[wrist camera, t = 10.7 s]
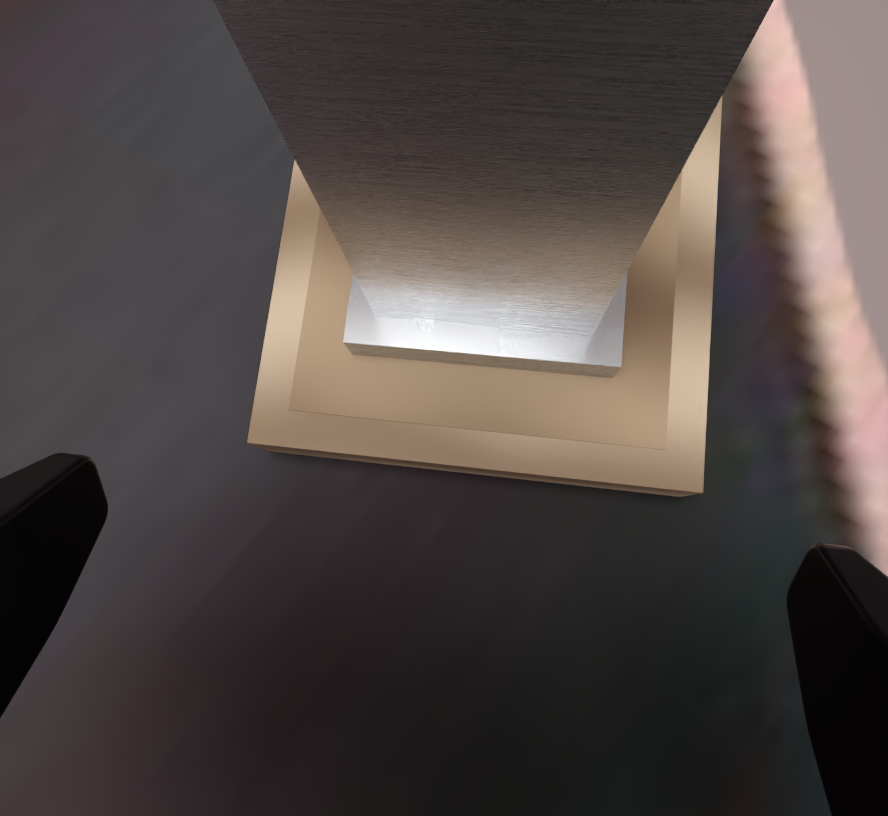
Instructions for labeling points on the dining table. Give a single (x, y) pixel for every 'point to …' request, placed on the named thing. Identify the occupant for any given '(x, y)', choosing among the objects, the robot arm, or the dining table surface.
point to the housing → (491, 157)
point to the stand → (500, 389)
